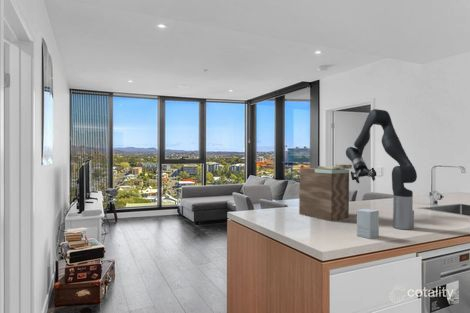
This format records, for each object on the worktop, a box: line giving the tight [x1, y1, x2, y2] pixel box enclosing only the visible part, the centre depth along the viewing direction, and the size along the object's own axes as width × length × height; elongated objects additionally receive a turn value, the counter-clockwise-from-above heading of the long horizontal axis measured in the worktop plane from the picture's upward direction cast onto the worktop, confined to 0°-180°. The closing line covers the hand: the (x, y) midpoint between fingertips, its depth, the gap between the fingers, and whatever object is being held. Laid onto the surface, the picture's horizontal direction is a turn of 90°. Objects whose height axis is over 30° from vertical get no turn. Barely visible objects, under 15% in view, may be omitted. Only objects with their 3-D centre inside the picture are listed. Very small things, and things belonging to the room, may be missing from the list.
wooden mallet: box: [317, 164, 353, 170], centre depth 203 cm, size 25×11×2 cm, turn 127°
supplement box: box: [356, 208, 380, 240], centre depth 154 cm, size 7×7×13 cm
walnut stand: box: [298, 167, 350, 222], centre depth 204 cm, size 16×26×30 cm, turn 33°
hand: (366, 180), depth 192 cm, fingers open, 8 cm apart
